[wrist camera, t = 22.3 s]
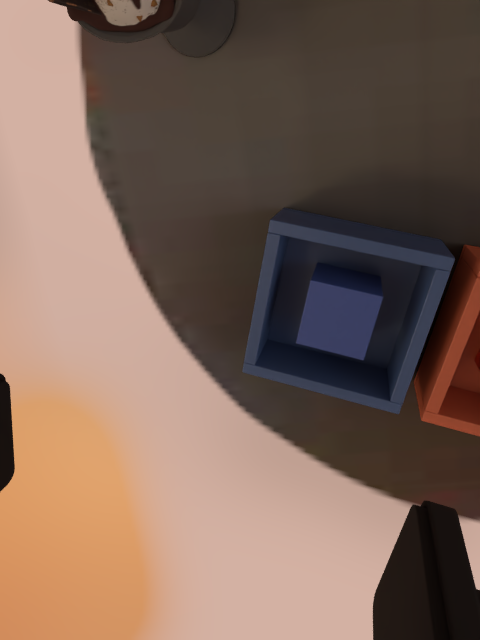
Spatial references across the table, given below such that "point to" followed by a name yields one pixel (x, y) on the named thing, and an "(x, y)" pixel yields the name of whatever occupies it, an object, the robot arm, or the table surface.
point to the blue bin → (393, 317)
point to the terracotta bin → (454, 353)
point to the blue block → (340, 311)
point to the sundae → (157, 21)
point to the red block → (477, 359)
